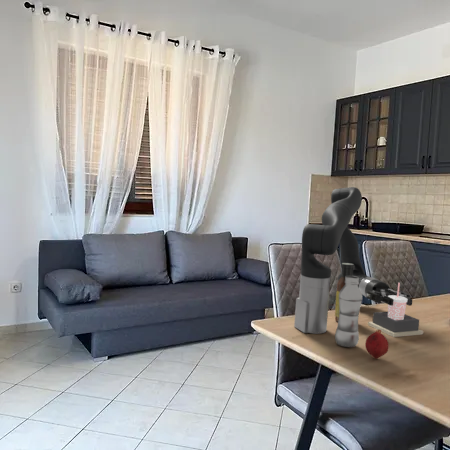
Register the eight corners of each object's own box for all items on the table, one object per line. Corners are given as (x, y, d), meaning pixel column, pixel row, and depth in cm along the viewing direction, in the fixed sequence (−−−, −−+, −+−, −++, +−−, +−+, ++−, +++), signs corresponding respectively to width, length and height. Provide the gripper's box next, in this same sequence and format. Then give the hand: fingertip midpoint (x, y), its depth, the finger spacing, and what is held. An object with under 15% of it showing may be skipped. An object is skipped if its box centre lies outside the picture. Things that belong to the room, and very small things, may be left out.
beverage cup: (384, 325, 141) (388, 282, 140) (386, 320, 147) (389, 279, 145) (404, 328, 139) (408, 285, 137) (405, 323, 144) (409, 282, 143)
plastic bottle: (329, 342, 126) (335, 275, 125) (348, 340, 129) (353, 274, 127) (343, 351, 121) (349, 279, 119) (363, 348, 123) (369, 279, 122)
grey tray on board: (393, 337, 135) (394, 322, 135) (367, 324, 146) (368, 311, 146) (423, 334, 139) (424, 320, 139) (395, 322, 151) (397, 309, 150)
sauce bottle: (355, 325, 145) (360, 266, 144) (336, 323, 145) (341, 265, 144) (350, 319, 152) (355, 262, 150) (332, 317, 152) (336, 261, 150)
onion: (375, 364, 112) (378, 334, 112) (359, 356, 118) (362, 327, 117) (391, 361, 115) (394, 331, 114) (375, 353, 120) (377, 325, 120)
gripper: (356, 278, 154) (382, 290, 138) (393, 279, 157) (423, 291, 141) (354, 299, 155) (380, 314, 138) (391, 299, 158) (420, 314, 141)
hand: (401, 302), depth 140 cm, fingers closed on beverage cup, 6 cm apart
